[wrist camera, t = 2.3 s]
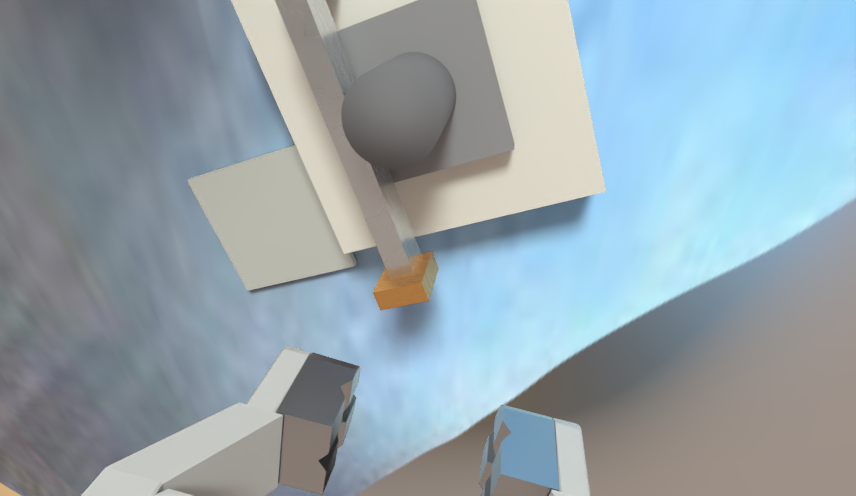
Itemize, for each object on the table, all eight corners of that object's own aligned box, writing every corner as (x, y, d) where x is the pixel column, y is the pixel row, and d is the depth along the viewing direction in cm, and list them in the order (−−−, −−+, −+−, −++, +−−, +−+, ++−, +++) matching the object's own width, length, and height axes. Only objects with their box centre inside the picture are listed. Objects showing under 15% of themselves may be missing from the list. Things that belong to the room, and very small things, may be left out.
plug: (392, 161, 28) (341, 230, 20) (344, 32, 25) (263, 52, 17) (515, 126, 26) (512, 186, 18) (477, -19, 23) (454, -22, 15)
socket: (359, 231, 30) (344, 253, 28) (255, -17, 25) (223, -17, 22) (597, 171, 26) (605, 191, 24) (535, -140, 21) (536, -158, 18)
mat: (251, 286, 34) (247, 290, 33) (191, 177, 31) (186, 180, 30) (357, 262, 31) (354, 266, 31) (304, 141, 28) (300, 143, 28)
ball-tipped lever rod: (276, -48, 21) (221, -56, 17) (325, -71, 20) (280, -84, 17) (400, 265, 27) (380, 310, 23) (442, 255, 26) (428, 300, 23)
